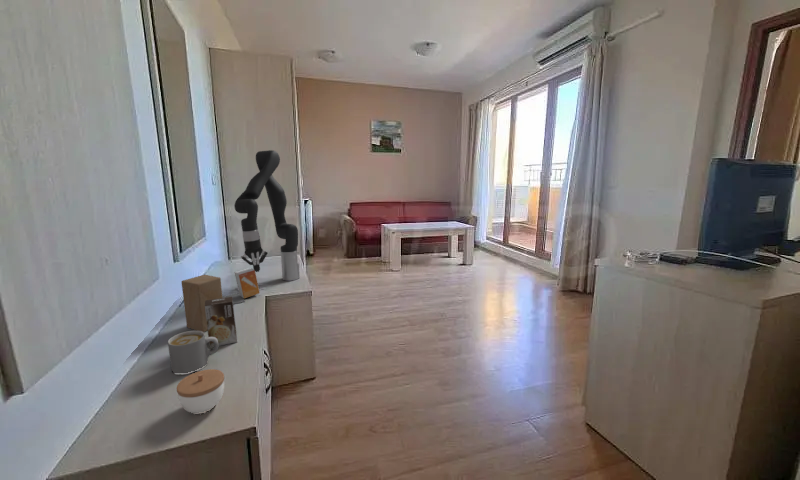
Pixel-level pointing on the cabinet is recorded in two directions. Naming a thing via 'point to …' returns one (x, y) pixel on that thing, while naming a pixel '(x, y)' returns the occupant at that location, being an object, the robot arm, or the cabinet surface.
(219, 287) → the wooden block
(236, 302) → the mat
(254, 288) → the small box
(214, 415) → the cabinet surface
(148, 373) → the cabinet surface
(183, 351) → the coffee mug
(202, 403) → the lidded jar
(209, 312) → the coffee box
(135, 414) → the cabinet surface
